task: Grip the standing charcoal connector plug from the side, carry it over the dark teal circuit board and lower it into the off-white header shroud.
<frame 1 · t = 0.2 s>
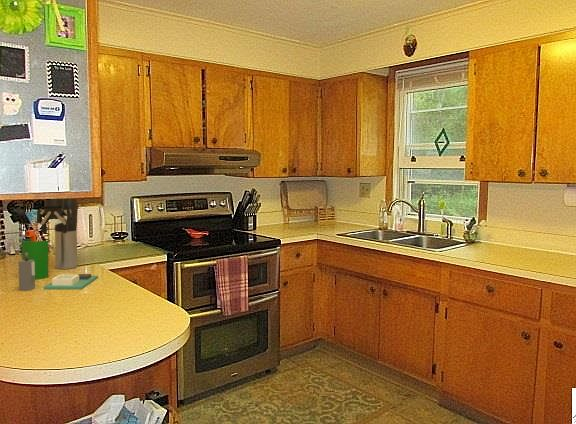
hand: (54, 233, 209), 18 cm above the table, tool pointing down, fingers open, 8 cm apart
green pen holder: (35, 277, 203), on the table
board: (72, 283, 193), on the table
plug: (27, 289, 182), on the table
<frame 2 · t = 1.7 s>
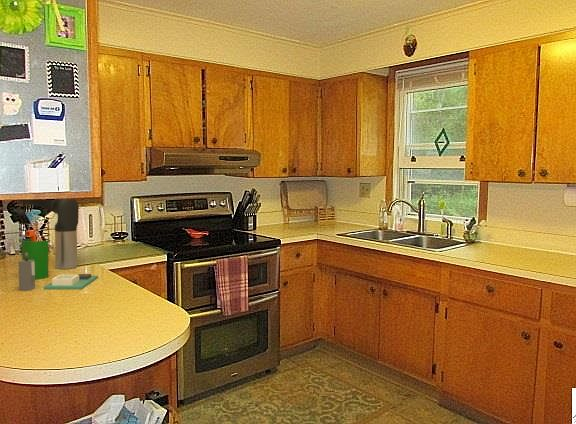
nothing on the table moved.
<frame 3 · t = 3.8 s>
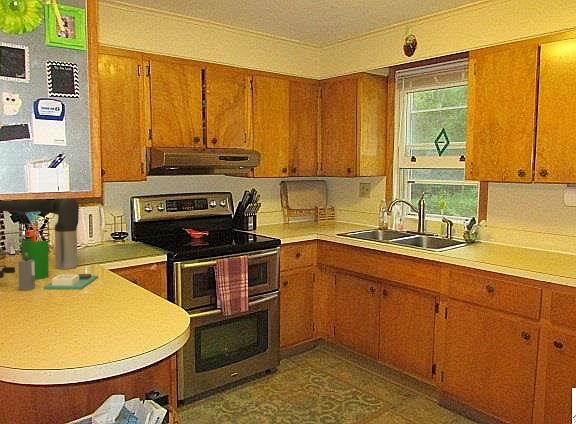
hand: (9, 272, 181), 6 cm above the table, tool horizontal, fingers open, 8 cm apart
nothing on the table moved.
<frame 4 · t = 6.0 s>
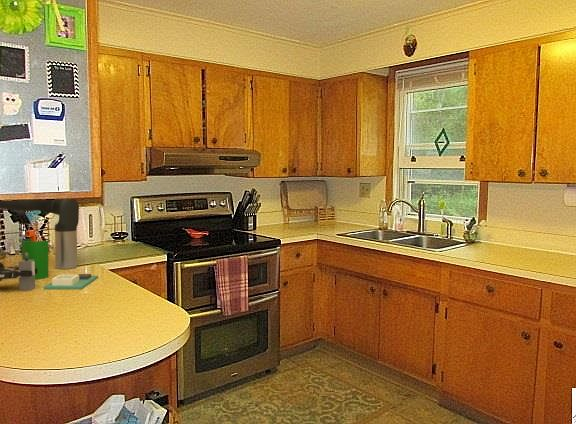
hand: (34, 272, 182), 7 cm above the table, tool horizontal, fingers closed on plug, 4 cm apart
plug: (27, 289, 182), on the table, touching gripper
everything else where it was.
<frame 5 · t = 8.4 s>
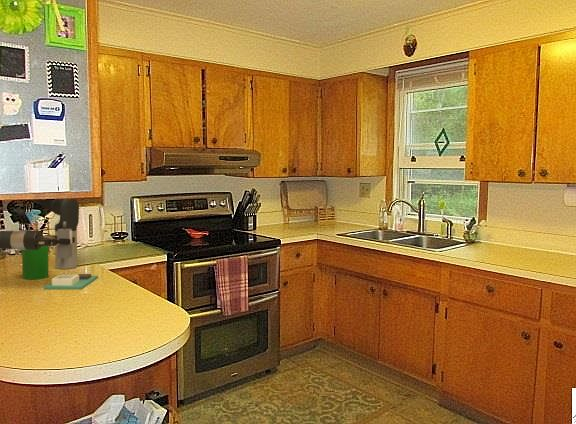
hand: (72, 240, 188), 18 cm above the table, tool horizontal, fingers closed on plug, 4 cm apart
plug: (65, 257, 188), point 11 cm above the table, touching gripper
everything else where it was.
when the fingers open (9 cm above the table, at t = 10.9 s): plug drops 1 cm, resting on board.
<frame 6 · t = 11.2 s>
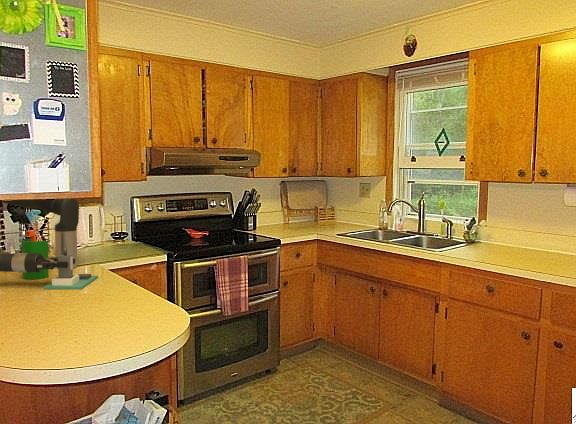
hand: (71, 263, 189), 9 cm above the table, tool horizontal, fingers open, 7 cm apart
plug: (65, 283, 189), point 1 cm above the table, touching board
everything else where it was.
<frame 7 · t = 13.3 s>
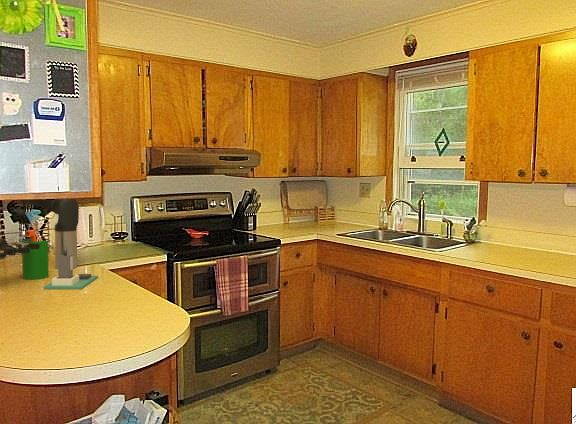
hand: (34, 248, 187), 15 cm above the table, tool horizontal, fingers open, 8 cm apart
nothing on the table moved.
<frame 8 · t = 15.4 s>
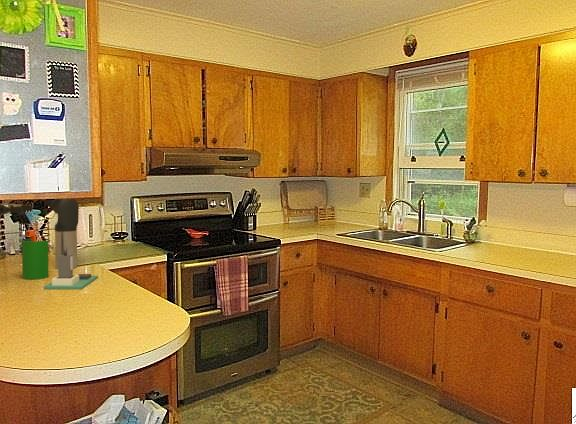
hand: (26, 209, 186), 30 cm above the table, tool horizontal, fingers open, 8 cm apart
nothing on the table moved.
at the end: plug 0.0 cm from the target spot on the board, point 1.0 cm above the board's base; plug tilted 0°; the gripper is holding nothing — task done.
